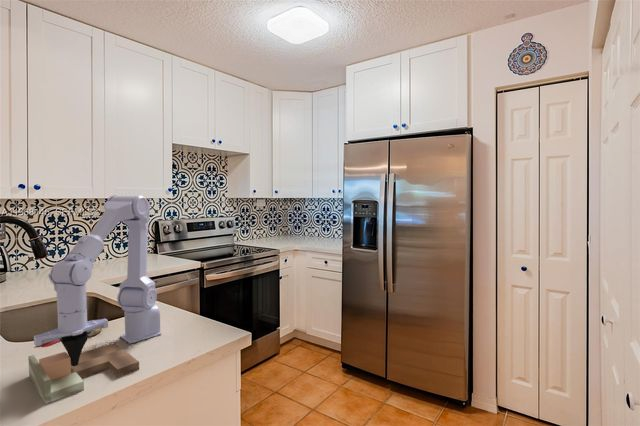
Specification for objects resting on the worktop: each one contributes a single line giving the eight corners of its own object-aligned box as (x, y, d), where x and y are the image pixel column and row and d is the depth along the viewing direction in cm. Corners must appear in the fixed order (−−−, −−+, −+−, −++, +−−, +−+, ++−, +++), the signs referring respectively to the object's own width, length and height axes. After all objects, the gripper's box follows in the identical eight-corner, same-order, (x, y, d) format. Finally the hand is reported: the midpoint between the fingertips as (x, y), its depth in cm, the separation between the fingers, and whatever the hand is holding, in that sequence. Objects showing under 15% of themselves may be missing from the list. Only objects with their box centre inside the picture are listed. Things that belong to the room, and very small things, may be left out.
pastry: (85, 327, 114) (85, 315, 114) (108, 325, 116) (108, 314, 116) (72, 338, 105) (72, 326, 105) (97, 337, 107) (97, 325, 106)
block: (65, 367, 84) (65, 351, 84) (71, 373, 81) (70, 357, 81) (39, 375, 80) (39, 359, 80) (44, 382, 78) (43, 365, 77)
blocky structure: (115, 349, 98) (114, 332, 98) (139, 369, 87) (138, 350, 87) (29, 376, 84) (28, 356, 83) (45, 403, 73) (44, 381, 73)
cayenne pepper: (31, 351, 97) (31, 345, 97) (31, 346, 101) (30, 340, 101) (82, 340, 105) (82, 333, 105) (80, 335, 109) (80, 329, 109)
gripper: (37, 322, 75) (40, 382, 76) (111, 306, 86) (113, 358, 87) (30, 314, 79) (33, 371, 80) (101, 300, 90) (103, 350, 91)
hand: (74, 364), depth 84 cm, fingers closed
